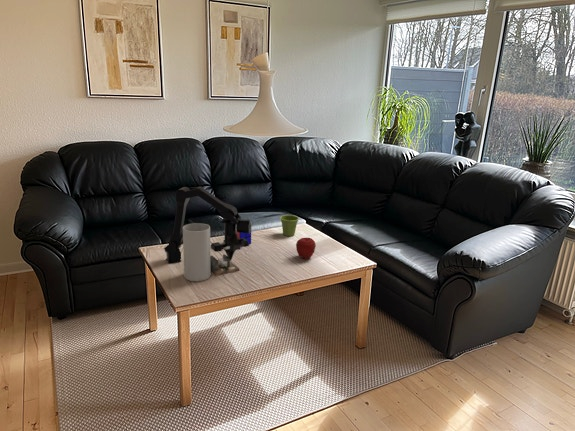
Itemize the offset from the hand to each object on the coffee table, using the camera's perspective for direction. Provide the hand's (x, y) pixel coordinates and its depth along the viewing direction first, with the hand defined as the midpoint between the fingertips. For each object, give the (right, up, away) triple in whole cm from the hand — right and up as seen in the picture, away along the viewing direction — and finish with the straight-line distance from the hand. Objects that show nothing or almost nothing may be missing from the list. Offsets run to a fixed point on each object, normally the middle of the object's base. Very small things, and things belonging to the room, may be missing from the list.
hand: (230, 260), depth 217 cm
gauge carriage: (-2, -3, -3) cm, 5 cm away
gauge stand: (-4, -4, -2) cm, 6 cm away
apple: (+39, 0, +17) cm, 43 cm away
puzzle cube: (+1, +6, +33) cm, 34 cm away
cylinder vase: (-14, -7, -12) cm, 20 cm away
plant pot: (+30, +11, +52) cm, 61 cm away
